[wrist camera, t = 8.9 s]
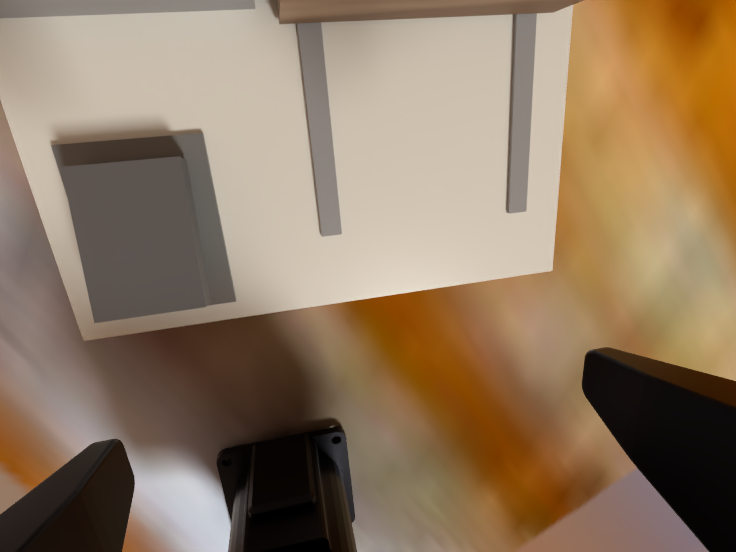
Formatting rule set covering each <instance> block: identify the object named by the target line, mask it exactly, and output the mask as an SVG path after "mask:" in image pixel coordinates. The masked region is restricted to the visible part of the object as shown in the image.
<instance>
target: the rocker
mask: <svg viewBox="0 0 736 552" xmlns="http://www.w3.org/2000/svg"><path fill="white" fill-rule="evenodd" d="M61 170H62V175H63V179H64V184H65V189H66V193H67V198H68V203H69V207H70V212H71V217H72V221H73V226H74V231H75V235H76V240H77V245H78V249H79V254H80V259H81V263H82V268H83V273H84V277H85V282H86V287H87V291H88V296H89V301H90V305H91V310H92V315H93V319H94V323H100V322H107V321H113V320H120V319H127V318H134V317H141V316H148V315H155V314H162V313H169V312H176V311H183V310H190V309H197V308H203V307H206V306H207V305H208V304H209V303H210V302H211V299H210V293H209V287H208V281H207V275H206V270H205V264H204V258H203V252H202V246H201V241H200V235H199V229H198V223H197V217H196V212H195V206H194V200H193V194H192V188H191V183H190V177H189V171H188V165H187V161H186V160H185V159H183V158H181V157H180V156H178V157H167V158H156V159H144V160H133V161H122V162H111V163H99V164H88V165H77V166H65V167H61Z"/></svg>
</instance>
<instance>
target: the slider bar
mask: <svg viewBox="0 0 736 552" xmlns="http://www.w3.org/2000/svg"><path fill="white" fill-rule="evenodd" d="M581 1H583V0H276V2H277V10H278V18H279V24H297V23H321V22H345V21H368V20H392V19H415V18H439V17H463V16H486V15H510V14H534V13H554V12H556V11H559V10H561V9H563V8H566V7H568V6H571V5H573V4H576V3H578V2H581Z"/></svg>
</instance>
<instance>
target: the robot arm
mask: <svg viewBox="0 0 736 552" xmlns="http://www.w3.org/2000/svg"><path fill="white" fill-rule="evenodd" d="M582 389H583V392H584V394H585V396H586V398H587V399H588V401H589V402H590V404H591V405H592V406H593V408H594V409H595V411H596V412H597V414H598V415H599V416H600V418H601V419H602V421H603V422H604V423H605V425H606V426H607V428H608V429H609V430H610V432H611V433H612V435H613V436H614V437H615V439H616V440H617V442H618V443H619V444H620V446H621V447H622V449H623V450H624V451H625V453H626V454H627V455H628V457H629V458H630V459H631V461H632V462H633V463H634V464H635V466H636V467H637V468H638V469H639V470H640V471H641V473H642V474H643V475H644V476H645V477H646V479H647V480H648V481H649V482H650V483H651V484H652V486H653V487H654V488H655V489H656V490H657V491H658V493H659V494H660V495H661V496H662V497H663V498H664V500H665V501H666V502H667V503H668V504H669V506H670V507H671V508H672V509H673V510H674V511H675V513H676V514H677V515H678V516H679V517H680V518H681V520H682V521H683V522H684V523H685V524H686V525H687V526H688V528H689V529H690V530H691V531H692V532H693V534H694V535H695V536H696V537H697V538H698V539H699V541H700V542H701V543H702V544H703V545H704V546H705V548H706V549H707V550H708V551H709V552H736V381H733V380H729V379H725V378H722V377H718V376H714V375H710V374H707V373H703V372H699V371H695V370H692V369H688V368H684V367H680V366H677V365H673V364H669V363H665V362H662V361H658V360H654V359H650V358H647V357H643V356H639V355H635V354H632V353H628V352H624V351H620V350H617V349H613V348H609V347H604V348H599V349H593V350H590V351H588V352H587V354H586V355H585V361H584V370H583V378H582ZM335 436H339V438H337V439H333V437H335ZM225 458H230V459H231V460H229V461H226V460H224V459H225ZM217 467H218V471H219V475H220V479H221V483H222V487H223V491H224V495H225V499H226V503H227V507H228V511H229V515H230V519H231V531H230V540H229V549H228V552H357V549H356V544H355V538H354V533H353V528H352V522H353V521H354V520H355V512H354V503H353V495H352V486H351V477H350V469H349V460H348V451H347V442H346V436H345V432H344V430H343V429H342V428H339V427H333V428H328V429H323V430H318V431H313V432H308V433H303V434H298V435H293V436H288V437H282V438H277V439H272V440H267V441H262V442H257V443H252V444H247V445H242V446H237V447H232V448H227V449H224V450H222V451H221V452H219V454H218V457H217ZM134 485H135V482H134V474H133V471H132V468H131V465H130V462H129V460H128V457H127V454H126V451H125V448H124V445H123V443H122V442H121V441H120V440H118V439H111V440H106V441H101V442H95V443H93V444H91V445H89V446H88V447H87V448H86V449H84V450H83V451H82V452H80V453H79V454H78V455H77V456H75V457H74V458H73V459H71V460H70V461H69V462H68V463H66V464H65V465H64V466H62V467H61V468H60V469H58V470H57V471H56V472H55V473H53V474H52V475H51V476H49V477H48V478H47V479H46V480H44V481H43V482H42V483H40V484H39V485H38V486H37V487H35V488H34V489H33V490H31V491H30V492H29V493H28V494H26V495H25V496H24V497H22V498H21V499H20V500H19V501H17V502H16V503H15V504H13V505H12V506H11V507H9V508H8V509H7V510H6V511H4V512H3V513H2V514H0V552H122V548H123V543H124V538H125V533H126V528H127V523H128V518H129V513H130V508H131V503H132V498H133V493H134Z"/></svg>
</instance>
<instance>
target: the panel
mask: <svg viewBox="0 0 736 552" xmlns="http://www.w3.org/2000/svg"><path fill="white" fill-rule="evenodd" d="M572 12H573V5H571V6H568V7H566V8H563V9H561V10H559V11H556V12H554V13H534V14H510V15H486V16H463V17H439V18H415V19H392V20H368V21H345V22H321V23H297V24H279V18H278V10H277V2H276V0H0V100H1V103H2V106H3V109H4V112H5V115H6V118H7V120H8V123H9V126H10V129H11V132H12V135H13V138H14V141H15V144H16V147H17V149H18V152H19V155H20V158H21V161H22V164H23V167H24V170H25V173H26V176H27V179H28V181H29V184H30V187H31V190H32V193H33V196H34V199H35V202H36V205H37V208H38V211H39V213H40V216H41V219H42V222H43V225H44V228H45V231H46V234H47V237H48V240H49V243H50V245H51V248H52V251H53V254H54V257H55V260H56V263H57V266H58V269H59V272H60V275H61V277H62V280H63V283H64V286H65V289H66V292H67V295H68V298H69V301H70V304H71V306H72V309H73V312H74V315H75V318H76V321H77V324H78V327H79V330H80V333H81V336H82V338H83V341H88V340H94V339H101V338H108V337H114V336H121V335H128V334H134V333H141V332H148V331H154V330H161V329H168V328H174V327H181V326H188V325H194V324H201V323H208V322H214V321H221V320H228V319H234V318H241V317H248V316H254V315H261V314H268V313H274V312H281V311H288V310H294V309H301V308H307V307H314V306H321V305H327V304H334V303H341V302H347V301H354V300H361V299H367V298H374V297H381V296H387V295H394V294H401V293H407V292H414V291H421V290H427V289H434V288H441V287H447V286H454V285H461V284H467V283H474V282H481V281H487V280H494V279H501V278H507V277H514V276H521V275H527V274H534V273H541V272H547V271H552V269H553V256H554V243H555V230H556V217H557V204H558V192H559V179H560V166H561V153H562V140H563V127H564V115H565V102H566V89H567V76H568V63H569V50H570V37H571V25H572ZM178 156H180V157H181V158H183V159H185V160H186V161H187V165H188V171H189V177H190V183H191V188H192V194H193V200H194V206H195V212H196V217H197V223H198V229H199V235H200V241H201V246H202V252H203V258H204V264H205V270H206V275H207V281H208V287H209V293H210V299H211V302H210V303H209V304H208V305H207V306H206V307H203V308H197V309H190V310H183V311H176V312H169V313H162V314H155V315H148V316H141V317H134V318H127V319H120V320H113V321H107V322H100V323H94V319H93V315H92V310H91V305H90V301H89V296H88V291H87V287H86V282H85V277H84V273H83V268H82V263H81V259H80V254H79V249H78V245H77V240H76V235H75V231H74V226H73V221H72V217H71V212H70V207H69V203H68V198H67V193H66V189H65V184H64V179H63V175H62V170H61V167H65V166H77V165H88V164H99V163H111V162H122V161H133V160H144V159H156V158H167V157H178Z"/></svg>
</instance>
